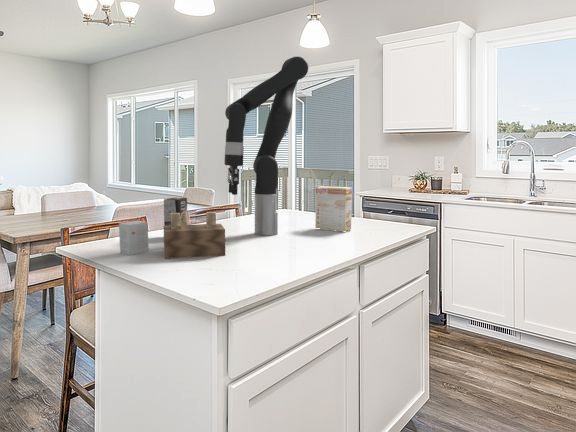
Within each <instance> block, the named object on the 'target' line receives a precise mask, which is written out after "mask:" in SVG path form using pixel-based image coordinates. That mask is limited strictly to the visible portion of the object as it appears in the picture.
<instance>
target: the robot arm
mask: <svg viewBox="0 0 576 432" xmlns="http://www.w3.org/2000/svg"><path fill="white" fill-rule="evenodd" d="M308 73H309V63H308V61H307V60H306V59H305V58H304V57H303V56H292V57H290V58H288V59H286V60H285V61H284V62H283V64H282V66H281V69H280V71H278V72H277V73H276V74H274V75H273V76H271V77H270V78H267V79H266V80H264V81H262V82H260V83H259V84H258V85H256V86H255V87H253V88H252V89H250V90H249V91H248V92H246V93H245V94H244V95H243V96H241V97H240V98H238V99H237V100H235V101H234V102H232V103H230V104H229V105H227V107H226V108H225V117H226V119H227V120H228V126H227V129H226V131H225V145H224V146H225V147H224V165H225V166H229V167H228V168H227V173H228V174H227V183H228V193H229V194H231V195H233V196H236V195H238V186H239V184H240V168H238V167H243V166H244V151H245V150H244V131H245V125H246V120H247V119H246V117H247V115H248V114H249V113H251V111H254V110H256V109H257V108H259V107H260V106H262V105H263V104H264V103H266V102H267V101H268V100H270V99H271V98H272V97H273V96H274V98H273V101H272V104H271V107H270V110H269V113H268V117H267V120H266V124H265V129H264V131H263V137H262V141H261V144H260V146H259V149H258V151H257V154H256V156H255V159H254V161H253V165H252V167H253V171H254V173H255V186H254V234H255V235H256V236H273V235H278V232H279V230H278V229H279V228H278V223H279V222H278V221H279V220H278V219H279V218H278V217H279V216H278V215H279V214H278V211H277V189H278V186H279V185H278V184H279V164H278V162H277V160H276V157H277V151H278V149H279V146H280V144H281V142H282V140H283V139H284V137H285V135H286V133H287V131H288V129H289V125H290V123H291V122H290V121H291V119H292V115H293V102H294V101H293V99H294V92H295V89H296V86H297V84H298V81H300V80H302V79H303V78H305V77H306V76H307V74H308Z"/></svg>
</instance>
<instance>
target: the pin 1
mask: <svg viewBox="0 0 576 432" xmlns="http://www.w3.org/2000/svg"><path fill="white" fill-rule="evenodd" d="M171 229H180V213H171Z"/></svg>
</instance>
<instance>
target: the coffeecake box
mask: <svg viewBox="0 0 576 432" xmlns="http://www.w3.org/2000/svg"><path fill="white" fill-rule="evenodd" d="M352 206H353V187H351V186H349V187H348V186H329V185H328V186H327V185H320V186H316V187H315V228H320V229H327V230H326V231H328V230H336V231H335V232H337V231H347V230H350V229H351V230H352V208H353V207H352ZM315 228H314V229H315ZM347 232H348V231H347Z"/></svg>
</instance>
